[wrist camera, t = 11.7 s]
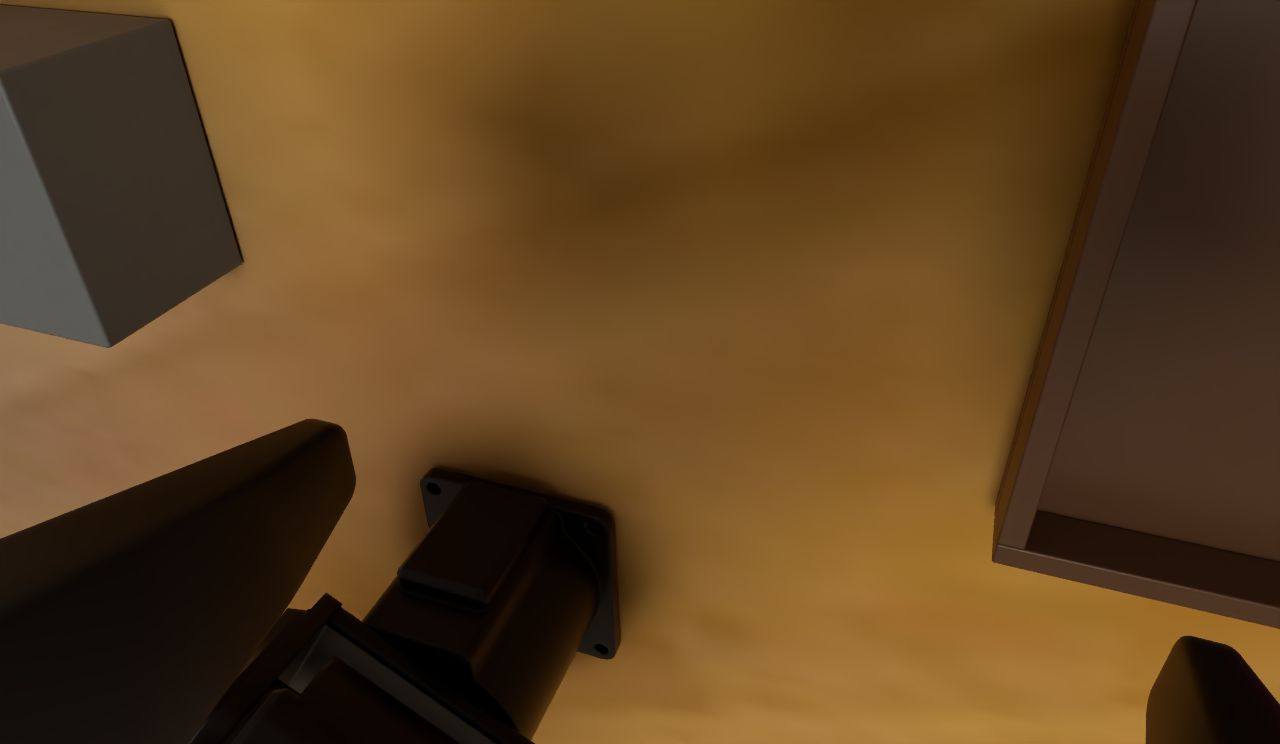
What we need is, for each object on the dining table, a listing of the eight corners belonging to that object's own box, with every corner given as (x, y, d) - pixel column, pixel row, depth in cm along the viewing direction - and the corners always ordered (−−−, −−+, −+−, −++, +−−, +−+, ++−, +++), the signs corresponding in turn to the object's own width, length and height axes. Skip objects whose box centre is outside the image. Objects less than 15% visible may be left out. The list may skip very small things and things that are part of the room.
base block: (243, 263, 27) (109, 350, 23) (67, 231, 29) (-83, 305, 25) (171, 18, 23) (-5, 73, 19) (-27, 1, 25) (-222, 47, 21)
